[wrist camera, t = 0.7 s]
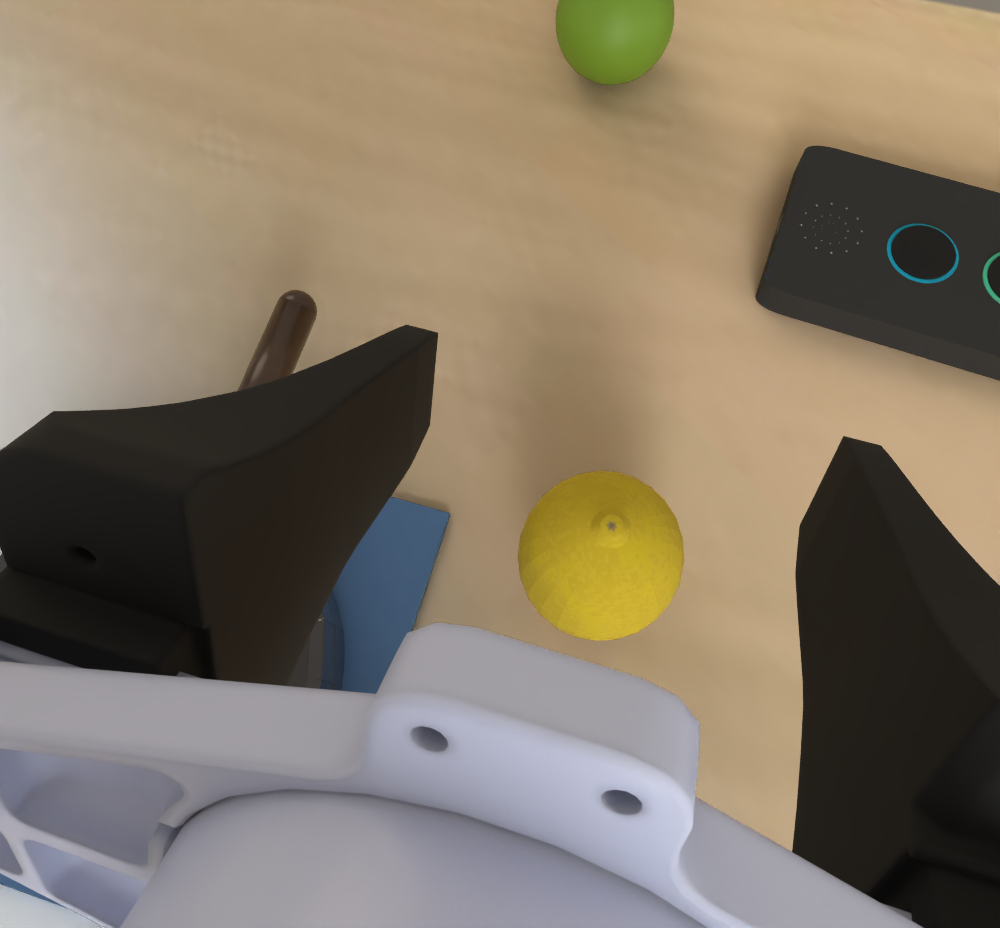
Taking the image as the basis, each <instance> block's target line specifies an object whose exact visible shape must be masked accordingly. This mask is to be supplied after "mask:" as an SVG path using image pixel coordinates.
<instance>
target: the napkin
mask: <svg viewBox="0 0 1000 928" xmlns="http://www.w3.org/2000/svg"><path fill="white" fill-rule="evenodd" d="M449 517H450V514H449V513H447V512H443V511H440V510H436V509H433V508H429V507H426V506H422V505H419V504H415V503H412V502H408V501H404V500H401V499H397V498H394V497H390V498H389V500H388V501H387V503H386V504H385V505H384V507H383V508H382V510H381V511H380V513H379V514H378V516H377V517H376V519H375V520H374V522H373V523H372V525H371V526H370V528H369V529H368V531H367V532H366V534H365V535H364V537H363V538H362V540H361V541H360V542H359V544H358V545H357V547H356V548H355V550H354V552H353V553H352V555H351V557H350V558H349V560H348V562H347V563H346V565H345V567H344V569H343V570H342V572H341V574H340V576H339V578H338V580H337V582H336V584H335V586H334V588H333V593H334V596H335V599H336V601H337V604H338V608H339V612H340V616H341V620H342V625H343V629H344V643H345V662H344V675H343V682H342V690H341V691H350V692H361V693H373V694H376V693H377V691H378V689H379V687H380V685H381V683H382V681H383V679H384V677H385V675H386V673H387V671H388V669H389V667H390V665H391V662H392V660H393V658H394V656H395V654H396V652H397V651H398V649H399V647H400V645H401V643H402V641H403V639H404V638H405V636H406V634H407V633H408V632H411V631H412V629H413V626H414V623H415V620H416V617H417V614H418V611H419V608H420V605H421V602H422V599H423V596H424V593H425V590H426V587H427V584H428V581H429V578H430V575H431V572H432V569H433V566H434V563H435V560H436V557H437V554H438V551H439V548H440V545H441V542H442V539H443V536H444V532H445V529H446V526H447V523H448V520H449ZM0 884H2V885H5V886H8V887H10V888H13V889H16V890H19V891H21V892H24V893H27V894H30V895H32V896H35V897H38V898H40V899H43V900H46V901H49V902H51V903H54V904H57V905H60V904H59V903H57V902H55V901H53V900H51V899H49V898H47V897H45V896H43V895H41V894H39V893H37V892H35V891H34V890H32V889H30V888H28V887H26V886H24V885H22V884H20V883H18V882H16V881H14V880H12V879H10V878H9V877H7V876H5V875H3V874H1V873H0ZM60 906H62V905H60ZM62 907H64V906H62ZM65 908H66V907H65Z"/></svg>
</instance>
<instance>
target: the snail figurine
mask: <svg viewBox="0 0 1000 928" xmlns="http://www.w3.org/2000/svg"><path fill="white" fill-rule="evenodd" d="M673 23H674V2H673V0H559V2H558V6H557V12H556V33H557V38H558V42H559V45H560V48H561V50H562V53H563V55H564V57H565V58H566V60H567V61H568V63H569V64H570V65H571V66H572V68H573V69H574V70H575V71H577V72H578V73H579V74H580V75H582V76H583V77H585V78H587V79H588V80H591V81H593V82H596V83H600V84H607V85H615V84H622V83H626V82H629V81H632V80H634V79H636V78H638V77H640V76H641V75H643V74H644V73H646V72H647V71H648V70H649V69H650V68H651V67H652V66H653V65H654V64H655V63H656V62H657V61H658V60H659V58H660V57H661V55H662V54H663V52H664V50H665V49H666V47H667V44H668V42H669V39H670V37H671V33H672V29H673Z"/></svg>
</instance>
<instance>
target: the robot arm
mask: <svg viewBox="0 0 1000 928" xmlns="http://www.w3.org/2000/svg"><path fill="white" fill-rule="evenodd" d="M437 340H438V333H437V332H433V331H429V330H425V329H421V328H417V327H413V326H409V325H405V326H402V327H399V328H397V329H395V330H392V331H390V332H388V333H386V334H384V335H381V336H379V337H377V338H375V339H373V340H371V341H369V342H367V343H365V344H362V345H360V346H358V347H356V348H354V349H352V350H349V351H347V352H345V353H343V354H341V355H338V356H336V357H334V358H332V359H329V360H327V361H324V362H322V363H319V364H317V365H314V366H312V367H309V368H307V369H304V370H302V371H299V372H297V373H294V374H292V375H289V376H286V377H283V378H280V379H277V380H274V381H271V382H268V383H265V384H261V385H258V386H254V387H251V388H247V389H244V390H240V391H236V392H232V393H227V394H222V395H217V396H212V397H207V398H202V399H197V400H192V401H187V402H181V403H174V404H166V405H159V406H150V407H140V408H130V409H117V410H91V411H53V412H52V413H50V414H49V415H48V416H46V417H45V418H44V419H42V420H41V421H40V422H38V423H37V424H36V425H34V426H33V427H31V428H30V429H29V430H27V431H26V432H25V433H23V434H22V435H21V436H19V437H18V438H17V439H15V440H14V441H13V442H11V443H10V444H9V445H7V446H6V447H4V448H3V449H2V450H0V548H1V551H2V553H3V556H4V559H5V562H6V565H7V567H6V568H5V569H4V570H3V571H2V572H1V573H0V873H1V874H3V875H5V876H7V877H9V878H10V879H12V880H14V881H16V882H18V883H20V884H22V885H24V886H26V887H28V888H30V889H32V890H34V891H35V892H37V893H39V894H41V895H43V896H45V897H47V898H49V899H51V900H53V901H55V902H57V903H59V904H60V905H62V906H64V907H66V908H68V909H70V910H72V911H74V912H76V913H78V914H80V915H82V916H84V917H85V918H87V919H89V920H91V921H93V922H95V923H97V924H99V925H101V926H103V927H105V928H1000V586H999V585H998V584H997V583H996V582H995V581H994V580H993V579H992V578H991V577H990V576H989V575H988V574H987V573H986V572H985V571H984V570H983V569H982V568H981V567H980V565H979V564H978V563H977V562H976V561H975V560H974V559H973V558H972V557H971V556H970V554H969V553H968V552H967V551H966V550H965V549H964V548H963V547H962V546H961V545H960V543H959V542H958V541H957V540H956V539H955V538H954V537H953V535H952V534H951V533H950V532H949V531H948V529H947V528H946V527H945V526H944V525H943V523H942V522H941V521H940V520H939V519H938V517H937V516H936V515H935V514H934V512H933V511H932V510H931V509H930V507H929V506H928V505H927V504H926V502H925V501H924V500H923V498H922V497H921V496H920V495H919V493H918V492H917V491H916V489H915V488H914V487H913V485H912V484H911V483H910V481H909V480H908V479H907V477H906V476H905V475H904V474H903V472H902V471H901V470H900V468H899V467H898V466H897V464H896V463H895V462H894V461H893V459H892V458H891V457H890V456H889V454H888V453H887V452H886V451H885V450H884V449H883V447H882V446H880V445H876V444H873V443H869V442H865V441H861V440H857V439H853V438H849V437H845V436H843V438H842V440H841V442H840V445H839V447H838V449H837V451H836V453H835V455H834V457H833V459H832V461H831V463H830V465H829V467H828V469H827V471H826V473H825V475H824V477H823V479H822V481H821V483H820V485H819V487H818V489H817V492H816V494H815V496H814V498H813V500H812V502H811V504H810V506H809V508H808V510H807V512H806V514H805V516H804V518H803V520H802V522H801V524H800V528H799V538H798V548H797V561H796V592H797V608H798V622H799V636H800V649H801V663H802V677H803V721H802V740H801V758H800V771H799V785H798V798H797V810H796V820H795V830H794V840H793V850H792V852H791V851H789V850H788V849H786V848H784V847H782V846H781V845H779V844H777V843H775V842H774V841H772V840H770V839H769V838H767V837H765V836H763V835H762V834H760V833H758V832H756V831H755V830H753V829H751V828H749V827H748V826H746V825H744V824H742V823H741V822H739V821H737V820H736V819H734V818H732V817H730V816H729V815H727V814H725V813H723V812H722V811H720V810H718V809H716V808H715V807H713V806H711V805H709V804H708V803H706V802H704V801H702V800H701V799H699V798H697V797H696V796H695V794H696V782H697V771H698V759H699V743H700V723H699V722H698V721H697V719H696V718H695V717H694V716H693V714H692V713H691V712H690V711H689V709H688V708H687V707H686V706H685V704H684V703H683V702H682V701H681V699H680V698H679V697H678V696H676V695H675V694H673V693H671V692H669V691H667V690H665V689H663V688H661V687H659V686H657V685H655V684H653V683H651V682H649V681H647V680H645V679H643V678H641V677H638V676H635V675H632V674H628V673H625V672H622V671H618V670H615V669H612V668H609V667H605V666H602V665H599V664H596V663H592V662H589V661H586V660H582V659H579V658H576V657H573V656H569V655H566V654H563V653H559V652H556V651H553V650H550V649H546V648H543V647H540V646H537V645H533V644H530V643H527V642H523V641H520V640H517V639H514V638H510V637H507V636H504V635H501V634H497V633H494V632H491V631H487V630H484V629H481V628H478V627H474V626H465V625H457V624H448V623H433V624H430V625H428V626H425V627H422V628H419V629H416V630H414V631H411V632H408V633H407V634H406V636H405V638H404V639H403V641H402V643H401V645H400V647H399V649H398V651H397V652H396V654H395V656H394V658H393V660H392V662H391V665H390V667H389V669H388V671H387V673H386V675H385V677H384V679H383V681H382V683H381V685H380V687H379V689H378V691H377V693H376V694H373V693H361V692H350V691H338V690H327V689H315V688H304V687H292V686H287V684H288V682H289V679H290V677H291V675H292V673H293V671H294V668H295V666H296V664H297V662H298V660H299V657H300V655H301V653H302V651H303V649H304V647H305V645H306V643H307V640H308V638H309V636H310V634H311V632H312V630H313V628H314V626H315V624H316V622H317V620H318V618H319V616H320V614H321V612H322V610H323V608H324V606H325V604H326V602H327V600H328V598H329V596H330V594H331V592H332V590H333V588H334V586H335V584H336V582H337V580H338V578H339V576H340V574H341V572H342V570H343V569H344V567H345V565H346V563H347V562H348V560H349V558H350V557H351V555H352V553H353V552H354V550H355V548H356V547H357V545H358V544H359V542H360V541H361V540H362V538H363V537H364V535H365V534H366V532H367V531H368V529H369V528H370V526H371V525H372V523H373V522H374V520H375V519H376V517H377V516H378V514H379V513H380V511H381V510H382V508H383V507H384V505H385V504H386V503H387V501H388V500H389V498H390V497H391V495H392V494H393V492H394V491H395V489H396V488H397V486H398V485H399V483H400V481H401V480H402V478H403V477H404V475H405V474H406V472H407V471H408V469H409V468H410V466H411V464H412V462H413V460H414V458H415V456H416V454H417V452H418V450H419V448H420V445H421V443H422V441H423V439H424V437H425V435H426V432H427V430H428V428H429V426H430V417H431V406H432V395H433V384H434V373H435V362H436V351H437Z"/></svg>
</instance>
